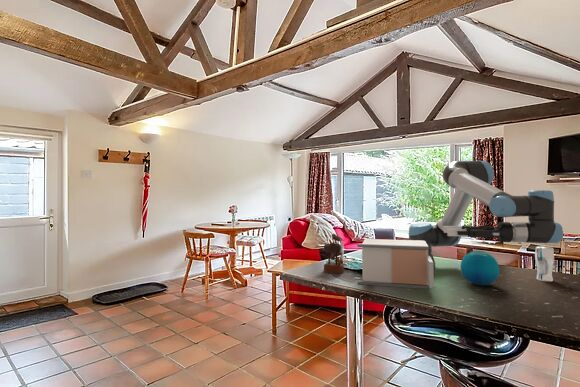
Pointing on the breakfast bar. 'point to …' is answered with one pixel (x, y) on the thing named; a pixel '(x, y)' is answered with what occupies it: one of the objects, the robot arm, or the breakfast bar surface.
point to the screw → (342, 252)
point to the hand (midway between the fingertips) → (445, 230)
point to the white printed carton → (544, 263)
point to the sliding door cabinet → (385, 261)
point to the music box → (333, 248)
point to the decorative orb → (479, 268)
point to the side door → (412, 267)
